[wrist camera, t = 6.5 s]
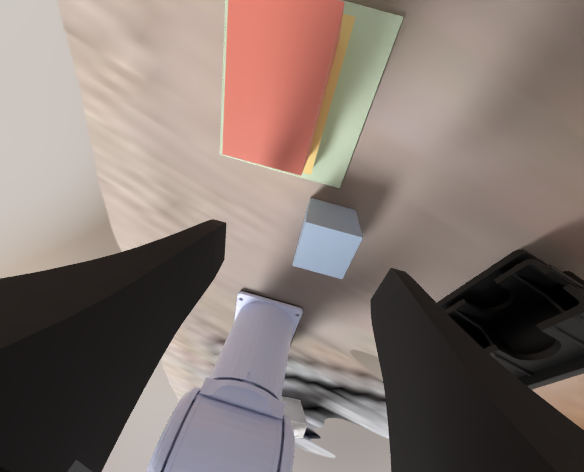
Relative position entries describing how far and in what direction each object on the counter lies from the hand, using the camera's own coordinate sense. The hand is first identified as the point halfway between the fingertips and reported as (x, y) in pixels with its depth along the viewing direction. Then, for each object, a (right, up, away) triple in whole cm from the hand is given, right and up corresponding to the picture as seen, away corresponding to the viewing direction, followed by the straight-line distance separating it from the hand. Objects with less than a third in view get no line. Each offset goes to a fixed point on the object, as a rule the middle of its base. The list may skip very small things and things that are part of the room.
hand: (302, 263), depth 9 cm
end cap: (+19, -4, +11) cm, 23 cm away
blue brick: (+3, +2, +10) cm, 10 cm away
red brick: (-1, +9, +3) cm, 10 cm away
